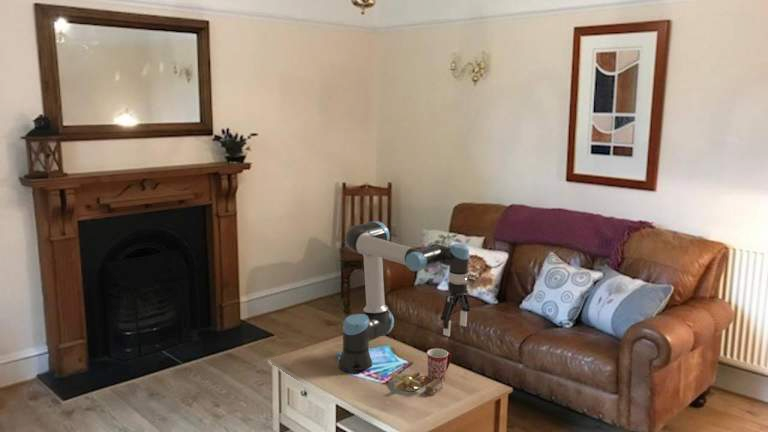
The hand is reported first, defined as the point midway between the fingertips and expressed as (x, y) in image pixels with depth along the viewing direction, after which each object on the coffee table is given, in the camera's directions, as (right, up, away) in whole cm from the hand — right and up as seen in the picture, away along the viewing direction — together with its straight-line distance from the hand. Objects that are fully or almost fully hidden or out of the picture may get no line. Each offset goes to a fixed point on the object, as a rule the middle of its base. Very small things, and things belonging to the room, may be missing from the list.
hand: (454, 330), depth 265 cm
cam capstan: (-20, -24, +4) cm, 32 cm away
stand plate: (-20, -26, +4) cm, 33 cm away
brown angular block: (-9, -27, +1) cm, 28 cm away
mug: (-5, -24, +13) cm, 28 cm away
